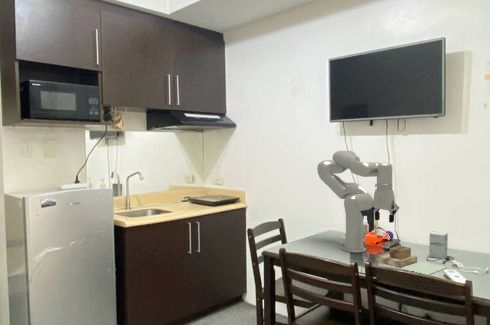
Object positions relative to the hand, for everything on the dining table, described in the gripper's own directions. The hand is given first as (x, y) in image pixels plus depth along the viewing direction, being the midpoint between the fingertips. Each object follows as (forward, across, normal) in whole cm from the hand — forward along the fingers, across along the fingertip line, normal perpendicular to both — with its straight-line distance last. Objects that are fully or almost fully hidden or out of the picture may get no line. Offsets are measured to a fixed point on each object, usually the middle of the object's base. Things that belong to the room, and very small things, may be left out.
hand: (384, 220), depth 200 cm
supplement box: (+20, +15, +26) cm, 36 cm away
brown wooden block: (+15, +9, 0) cm, 17 cm away
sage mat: (+20, +21, 0) cm, 29 cm away
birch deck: (+20, +7, 0) cm, 21 cm away
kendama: (+20, -23, +33) cm, 45 cm away
